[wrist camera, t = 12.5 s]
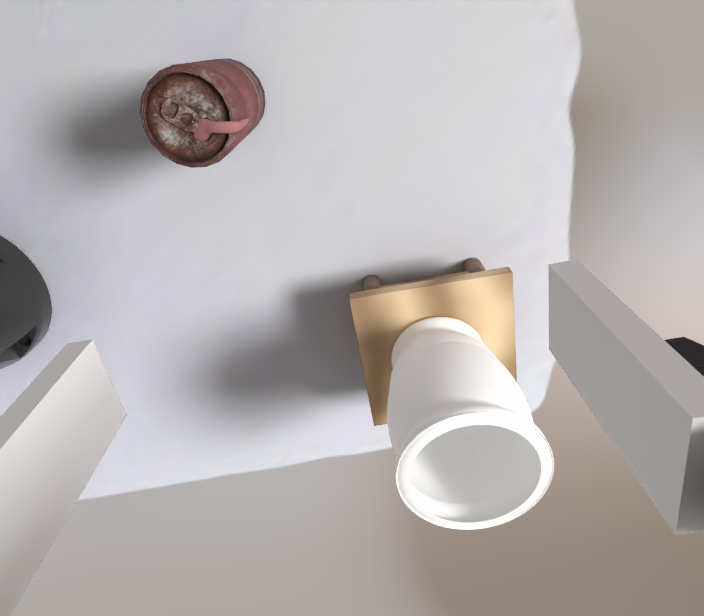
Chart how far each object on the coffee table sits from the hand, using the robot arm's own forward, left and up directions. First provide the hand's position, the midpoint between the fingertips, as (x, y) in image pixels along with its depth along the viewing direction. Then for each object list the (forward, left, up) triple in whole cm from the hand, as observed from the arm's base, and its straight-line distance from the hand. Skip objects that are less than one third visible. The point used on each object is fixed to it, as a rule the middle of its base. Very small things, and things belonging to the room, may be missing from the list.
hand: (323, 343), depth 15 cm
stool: (+6, -19, -35) cm, 40 cm away
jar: (+6, -19, -28) cm, 34 cm away
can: (-8, +5, -35) cm, 36 cm away
